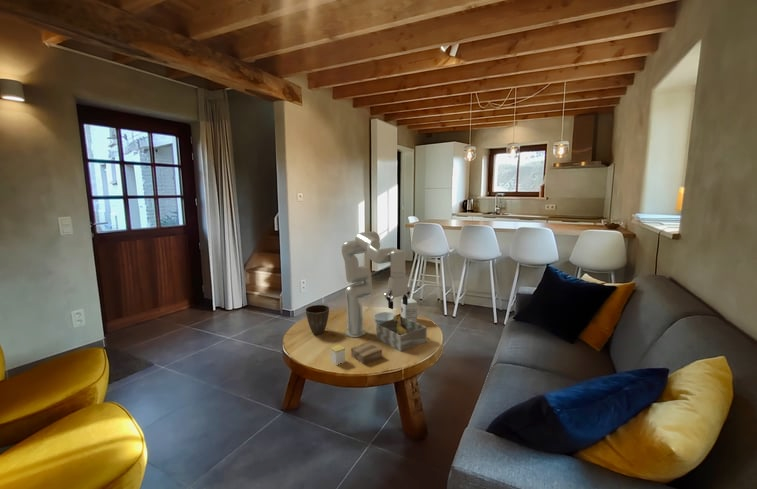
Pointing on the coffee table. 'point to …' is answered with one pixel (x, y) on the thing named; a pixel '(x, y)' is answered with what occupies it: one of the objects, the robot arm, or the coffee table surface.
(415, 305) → the supplement box
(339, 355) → the tea tin
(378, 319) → the chinaware
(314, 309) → the plant pot
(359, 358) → the walnut box
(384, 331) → the grey crate
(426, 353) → the coffee table surface
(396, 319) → the stuffed giraffe
